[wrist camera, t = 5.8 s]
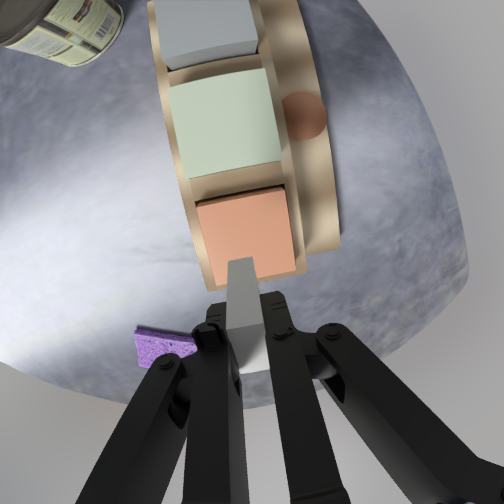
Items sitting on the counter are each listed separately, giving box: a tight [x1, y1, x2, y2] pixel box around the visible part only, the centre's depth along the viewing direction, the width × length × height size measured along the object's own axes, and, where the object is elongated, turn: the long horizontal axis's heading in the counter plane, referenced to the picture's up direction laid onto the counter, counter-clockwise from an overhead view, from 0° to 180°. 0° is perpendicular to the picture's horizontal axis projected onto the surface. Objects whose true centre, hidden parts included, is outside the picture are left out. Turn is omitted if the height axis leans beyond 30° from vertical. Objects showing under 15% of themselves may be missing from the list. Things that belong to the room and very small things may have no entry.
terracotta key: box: [196, 185, 296, 286], centre depth 26 cm, size 7×7×5 cm
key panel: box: [147, 0, 340, 292], centre depth 24 cm, size 30×15×6 cm, turn 10°
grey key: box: [154, 0, 258, 71], centre depth 17 cm, size 7×7×5 cm
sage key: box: [167, 68, 283, 179], centre depth 21 cm, size 7×7×5 cm
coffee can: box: [0, 0, 124, 67], centre depth 13 cm, size 10×10×14 cm
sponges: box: [134, 329, 197, 368], centre depth 37 cm, size 7×13×2 cm, turn 81°
